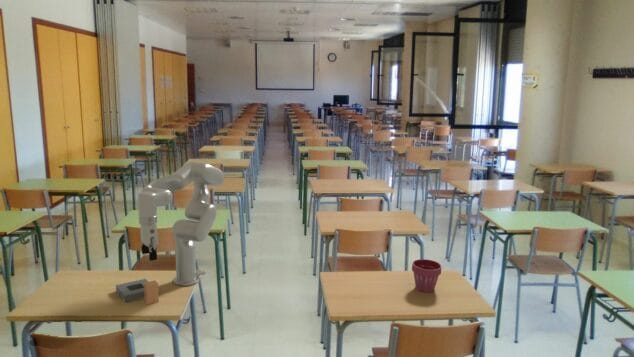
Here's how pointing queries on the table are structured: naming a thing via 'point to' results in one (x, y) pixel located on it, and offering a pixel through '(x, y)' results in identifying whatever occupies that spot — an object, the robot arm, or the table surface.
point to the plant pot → (426, 274)
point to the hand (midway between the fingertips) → (149, 256)
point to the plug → (151, 292)
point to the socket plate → (131, 290)
